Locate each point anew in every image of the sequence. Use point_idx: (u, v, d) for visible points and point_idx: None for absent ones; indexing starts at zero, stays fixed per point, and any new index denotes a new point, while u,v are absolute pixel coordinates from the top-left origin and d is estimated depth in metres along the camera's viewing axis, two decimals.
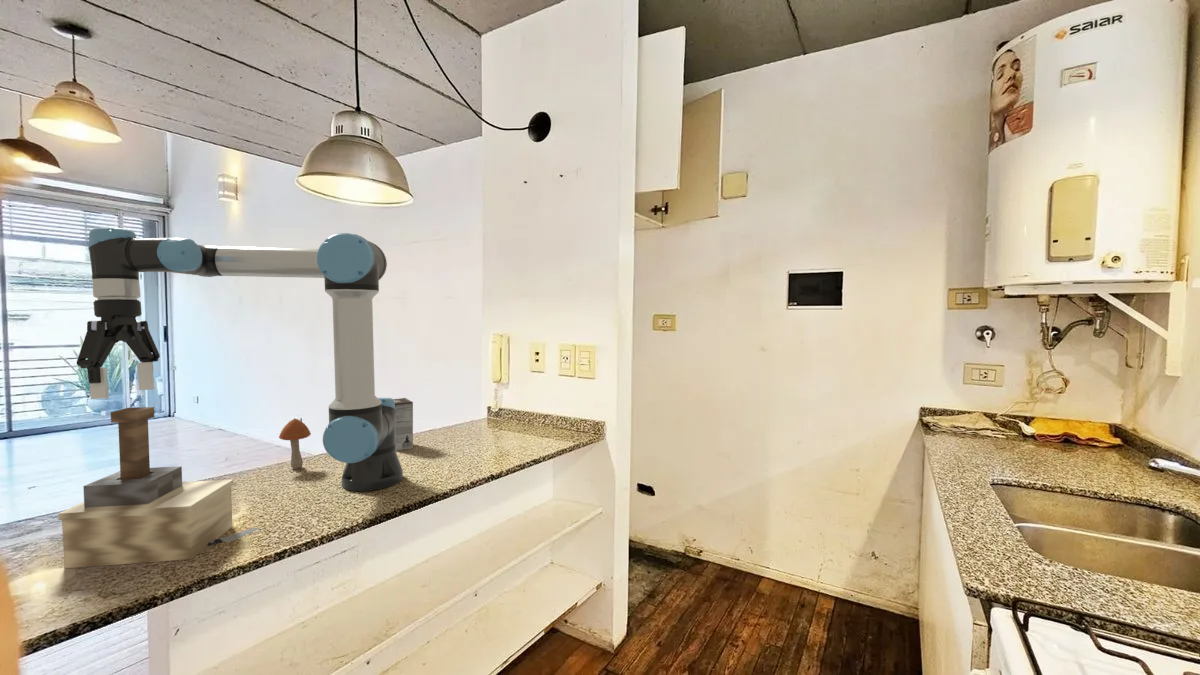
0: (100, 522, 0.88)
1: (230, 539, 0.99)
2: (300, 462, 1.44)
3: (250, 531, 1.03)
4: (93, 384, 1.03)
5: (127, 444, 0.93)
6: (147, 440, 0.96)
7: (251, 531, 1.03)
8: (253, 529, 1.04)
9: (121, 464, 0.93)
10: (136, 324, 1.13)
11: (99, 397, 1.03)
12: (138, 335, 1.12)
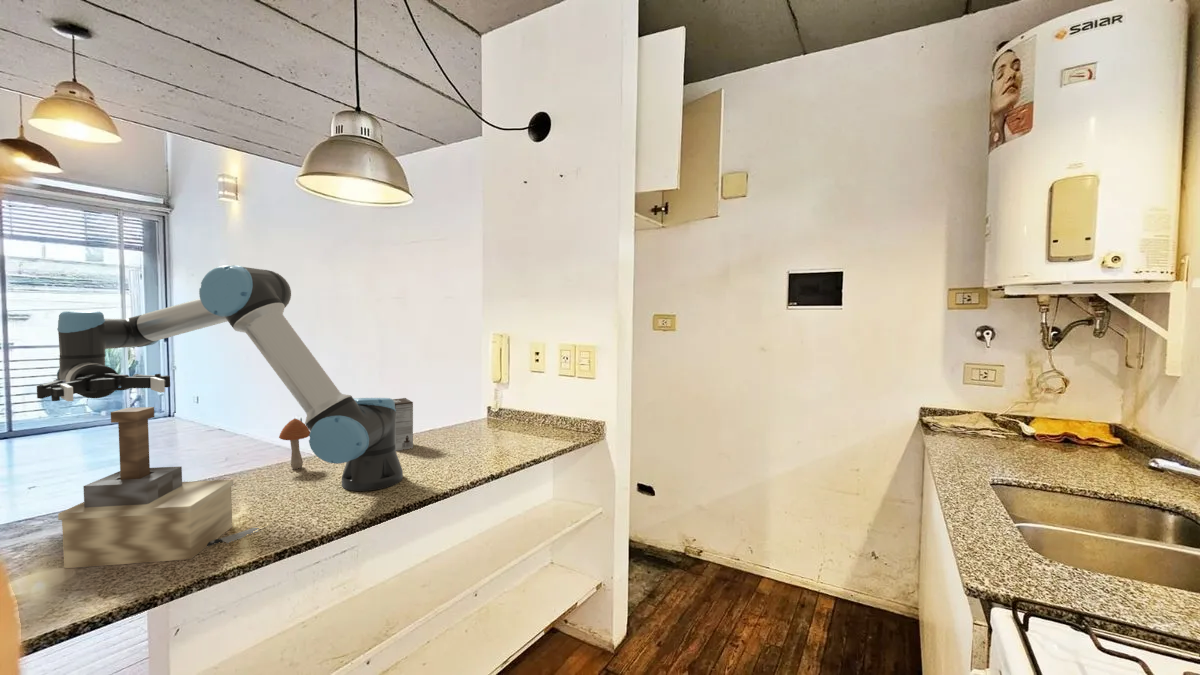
0: (100, 522, 0.88)
1: (230, 539, 0.99)
2: (300, 462, 1.44)
3: (250, 531, 1.03)
4: (64, 396, 0.96)
5: (127, 444, 0.93)
6: (147, 440, 0.96)
7: (251, 531, 1.03)
8: (253, 529, 1.04)
9: (121, 464, 0.93)
10: None
11: (67, 393, 0.94)
12: None
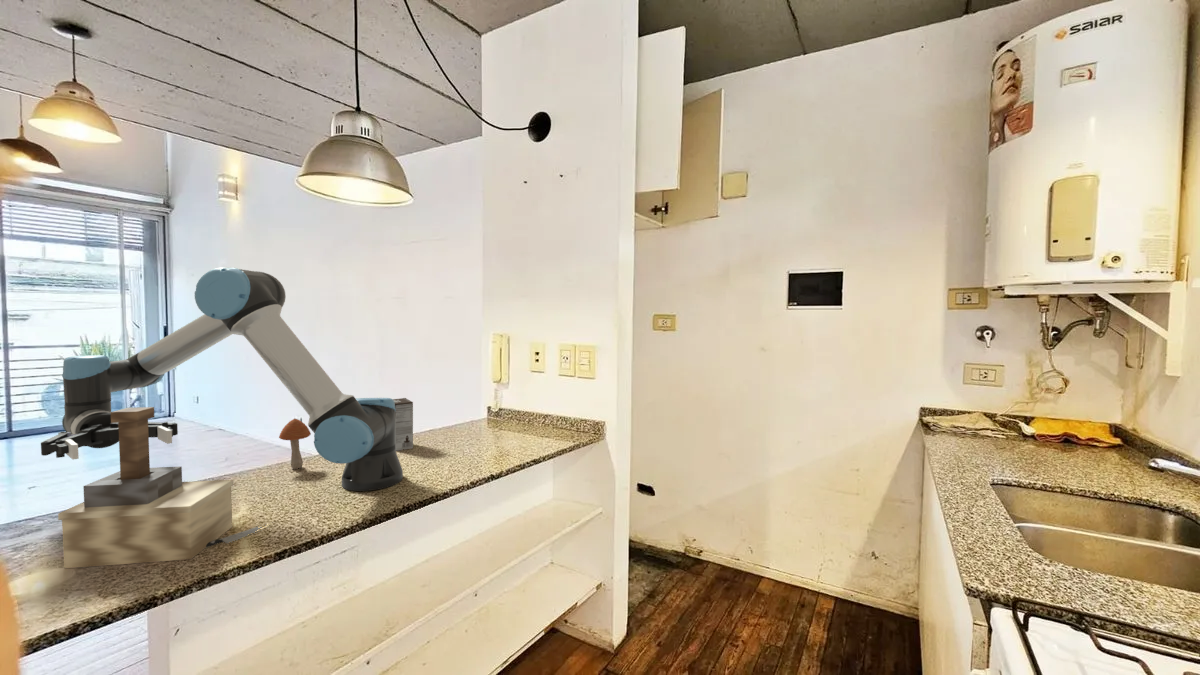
0: (100, 522, 0.88)
1: (231, 539, 0.99)
2: (300, 462, 1.44)
3: (251, 531, 1.03)
4: (69, 453, 0.93)
5: (127, 444, 0.93)
6: (147, 440, 0.96)
7: (252, 531, 1.03)
8: (254, 529, 1.04)
9: (121, 464, 0.93)
10: None
11: (72, 451, 0.91)
12: None
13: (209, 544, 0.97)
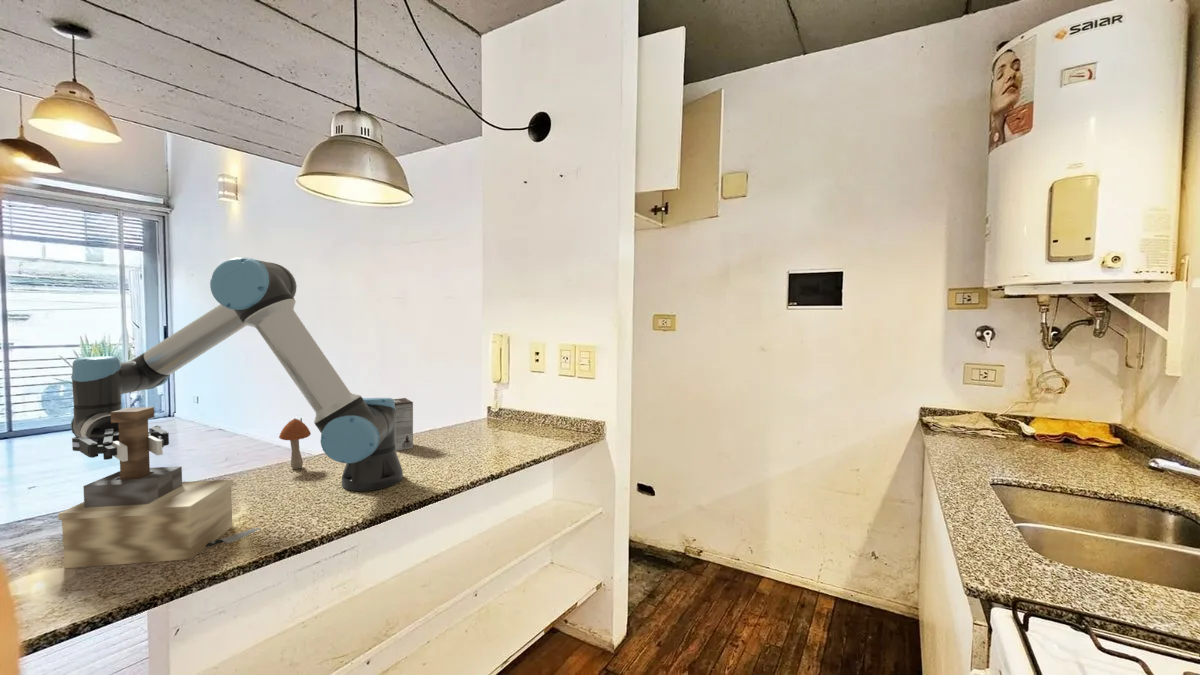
0: (100, 522, 0.88)
1: (231, 539, 0.99)
2: (300, 462, 1.44)
3: (251, 531, 1.03)
4: (117, 455, 0.91)
5: (127, 444, 0.93)
6: (147, 440, 0.96)
7: (252, 531, 1.03)
8: (254, 529, 1.04)
9: (121, 464, 0.93)
10: None
11: (121, 453, 0.90)
12: None
13: (209, 544, 0.97)
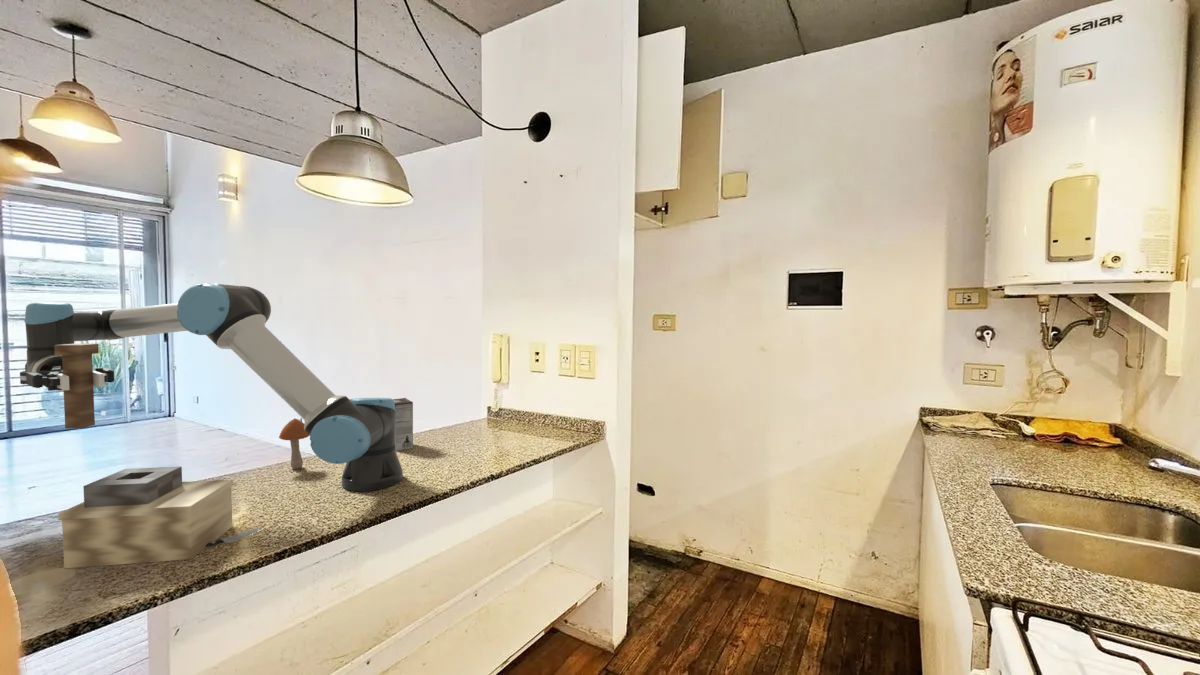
0: (100, 522, 0.88)
1: (231, 540, 0.99)
2: (300, 462, 1.44)
3: (252, 532, 1.02)
4: (60, 385, 0.97)
5: (70, 376, 0.99)
6: (91, 374, 1.02)
7: (253, 532, 1.03)
8: (255, 530, 1.03)
9: (65, 395, 0.99)
10: None
11: (63, 382, 0.95)
12: None
13: (209, 544, 0.97)
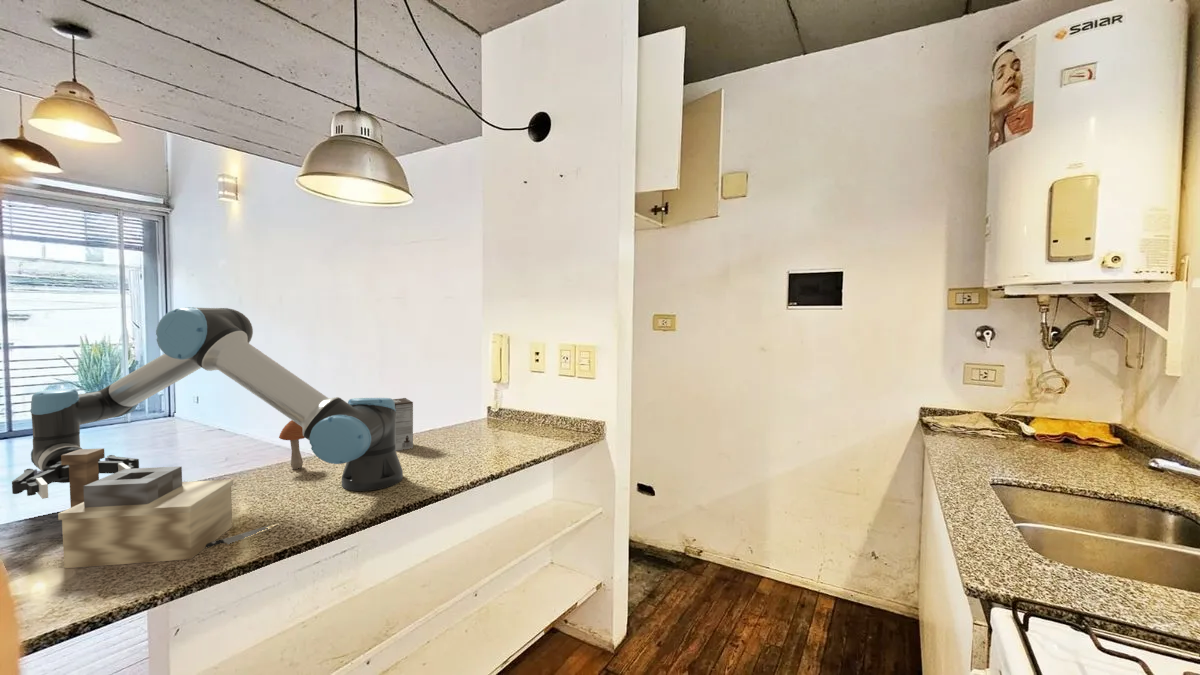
0: (100, 522, 0.88)
1: (232, 540, 0.99)
2: (300, 462, 1.44)
3: (253, 532, 1.02)
4: (39, 491, 0.96)
5: (77, 484, 1.00)
6: None
7: (254, 533, 1.02)
8: (256, 530, 1.03)
9: (71, 503, 1.00)
10: None
11: (41, 490, 0.94)
12: None
13: (210, 544, 0.97)
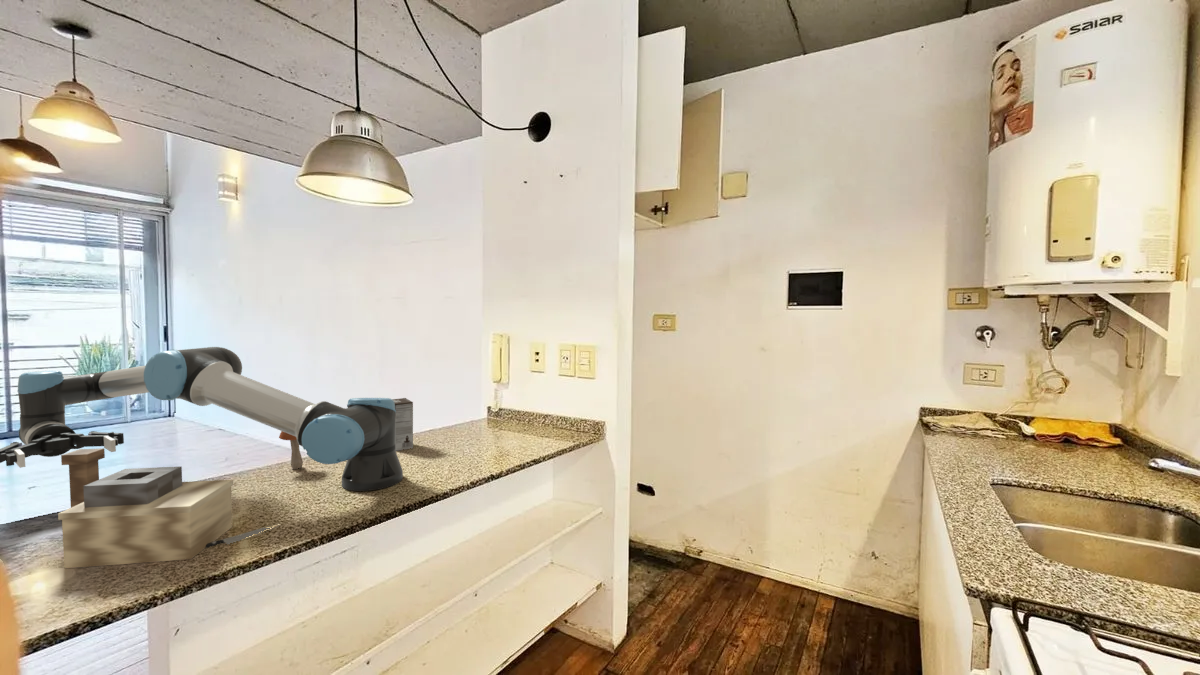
0: (100, 522, 0.88)
1: (232, 541, 0.99)
2: (300, 462, 1.44)
3: (253, 533, 1.02)
4: (17, 461, 1.03)
5: (77, 484, 1.00)
6: None
7: (254, 533, 1.02)
8: (257, 531, 1.03)
9: (72, 503, 1.00)
10: None
11: (19, 459, 1.01)
12: (75, 434, 1.16)
13: (210, 544, 0.97)
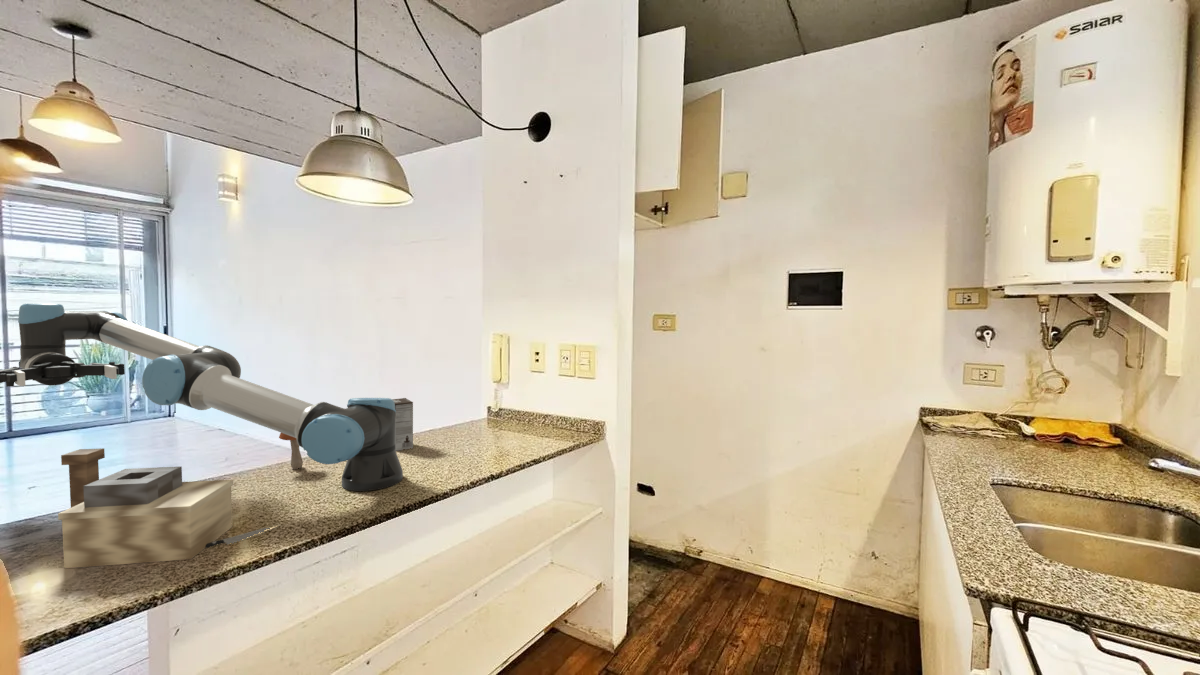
0: (100, 522, 0.88)
1: (232, 541, 0.98)
2: (300, 462, 1.44)
3: (254, 533, 1.02)
4: (17, 381, 1.02)
5: (77, 484, 1.00)
6: None
7: (255, 533, 1.02)
8: (258, 531, 1.03)
9: (72, 503, 1.00)
10: None
11: (19, 378, 1.00)
12: (76, 363, 1.15)
13: (210, 544, 0.96)
